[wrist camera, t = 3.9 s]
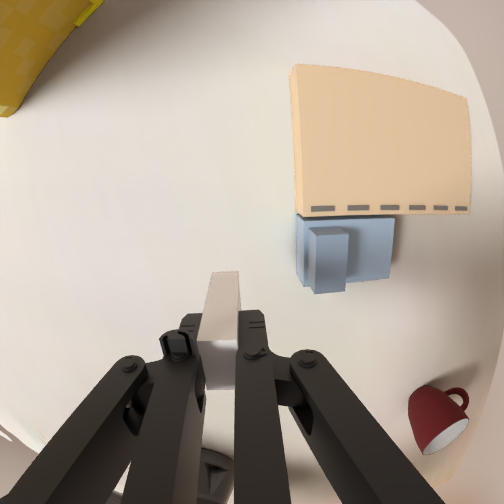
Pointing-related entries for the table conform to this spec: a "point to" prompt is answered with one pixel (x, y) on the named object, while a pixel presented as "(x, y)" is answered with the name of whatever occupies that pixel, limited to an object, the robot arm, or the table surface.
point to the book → (33, 41)
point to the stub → (343, 250)
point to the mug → (436, 417)
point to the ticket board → (377, 144)
